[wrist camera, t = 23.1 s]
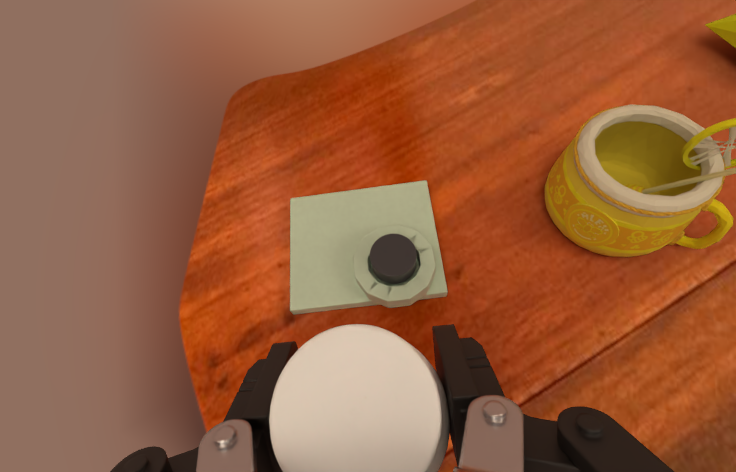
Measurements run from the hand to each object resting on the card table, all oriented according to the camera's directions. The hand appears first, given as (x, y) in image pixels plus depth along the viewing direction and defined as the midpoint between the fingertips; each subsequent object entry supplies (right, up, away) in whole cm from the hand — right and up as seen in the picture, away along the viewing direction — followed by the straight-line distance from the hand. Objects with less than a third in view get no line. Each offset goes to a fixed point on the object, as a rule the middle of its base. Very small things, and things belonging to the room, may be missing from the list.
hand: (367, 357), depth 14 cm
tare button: (+2, +2, +18) cm, 18 cm away
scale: (0, +3, +22) cm, 22 cm away
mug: (+21, +6, +21) cm, 30 cm away
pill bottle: (+1, -4, +3) cm, 5 cm away
